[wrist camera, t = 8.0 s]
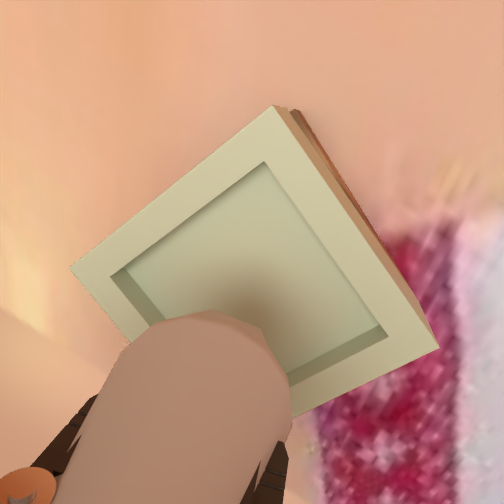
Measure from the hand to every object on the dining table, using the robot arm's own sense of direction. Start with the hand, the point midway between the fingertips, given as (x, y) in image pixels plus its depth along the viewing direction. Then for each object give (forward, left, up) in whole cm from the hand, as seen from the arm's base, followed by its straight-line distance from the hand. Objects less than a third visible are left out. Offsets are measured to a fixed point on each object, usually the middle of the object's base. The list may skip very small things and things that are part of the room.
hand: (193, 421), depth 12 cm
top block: (0, 0, -14) cm, 14 cm away
